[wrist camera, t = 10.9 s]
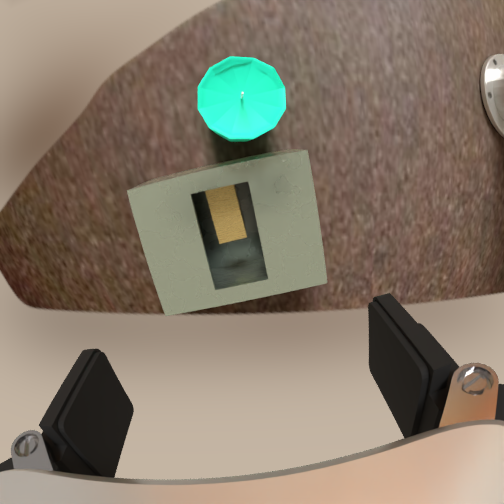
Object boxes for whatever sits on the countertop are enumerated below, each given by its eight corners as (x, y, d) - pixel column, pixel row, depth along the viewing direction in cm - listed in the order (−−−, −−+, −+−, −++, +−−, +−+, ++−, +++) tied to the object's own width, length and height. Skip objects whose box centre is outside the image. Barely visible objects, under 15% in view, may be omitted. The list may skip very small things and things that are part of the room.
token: (232, 179, 26) (247, 237, 27) (232, 174, 30) (244, 223, 32) (203, 187, 26) (219, 244, 27) (208, 180, 30) (221, 229, 32)
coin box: (289, 149, 31) (307, 150, 23) (306, 252, 34) (327, 282, 27) (151, 179, 31) (126, 190, 23) (178, 279, 34) (165, 316, 27)
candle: (260, 149, 30) (277, 150, 19) (200, 134, 30) (182, 127, 18) (276, 92, 29) (302, 63, 17) (216, 77, 28) (208, 39, 16)
